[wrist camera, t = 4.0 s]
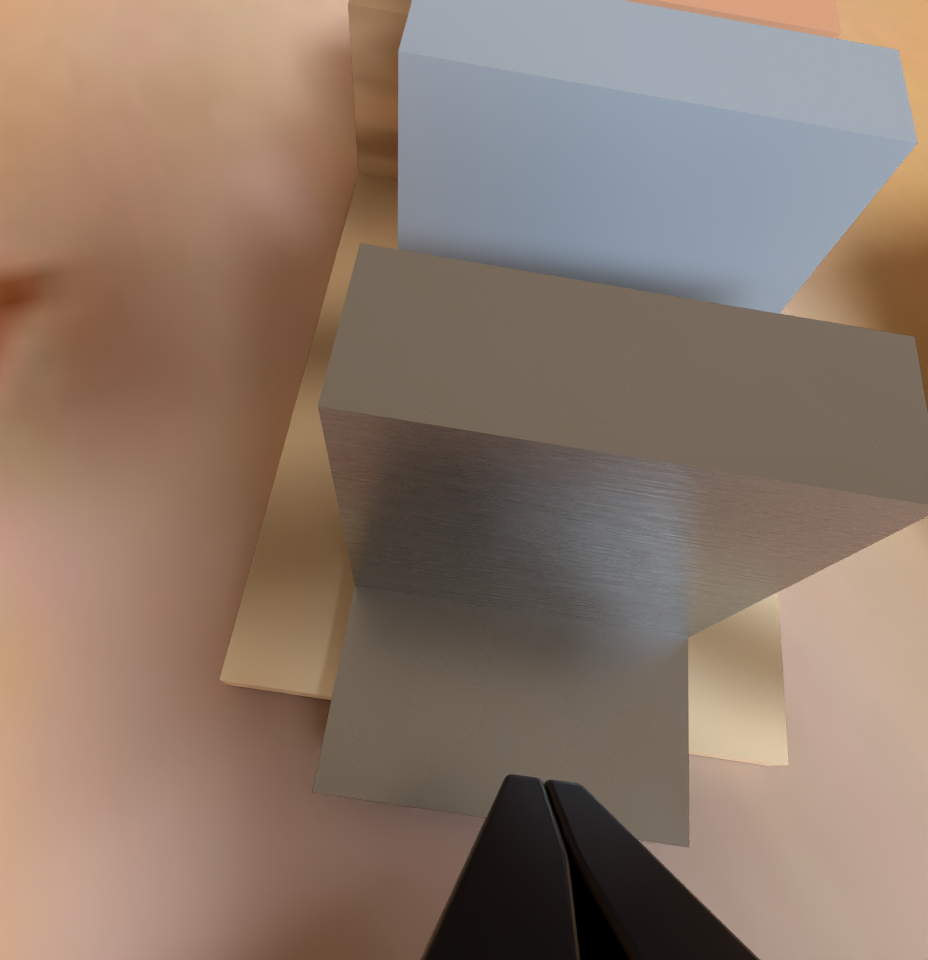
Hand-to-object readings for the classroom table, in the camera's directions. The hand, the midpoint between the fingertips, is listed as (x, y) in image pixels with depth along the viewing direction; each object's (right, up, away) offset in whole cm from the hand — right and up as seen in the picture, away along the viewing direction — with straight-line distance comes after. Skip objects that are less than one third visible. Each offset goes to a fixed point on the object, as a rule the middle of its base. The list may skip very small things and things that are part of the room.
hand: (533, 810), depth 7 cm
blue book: (+2, +7, +15) cm, 16 cm away
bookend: (+1, -1, +11) cm, 11 cm away
